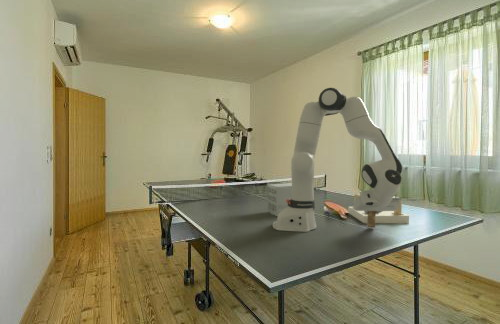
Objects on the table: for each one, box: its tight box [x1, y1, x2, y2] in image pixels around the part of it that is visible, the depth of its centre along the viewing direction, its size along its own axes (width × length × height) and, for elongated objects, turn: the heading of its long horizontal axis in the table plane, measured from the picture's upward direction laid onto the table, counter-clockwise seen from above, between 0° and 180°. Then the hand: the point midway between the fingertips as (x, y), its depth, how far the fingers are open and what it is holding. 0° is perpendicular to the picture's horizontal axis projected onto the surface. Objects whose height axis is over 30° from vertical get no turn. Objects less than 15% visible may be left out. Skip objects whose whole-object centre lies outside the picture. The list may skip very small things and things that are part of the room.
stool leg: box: [366, 211, 376, 229], centre depth 138 cm, size 4×4×11 cm
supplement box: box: [267, 182, 292, 217], centre depth 172 cm, size 17×13×18 cm
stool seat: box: [347, 193, 410, 224], centre depth 160 cm, size 24×24×12 cm
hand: (371, 213), depth 138 cm, fingers closed on stool leg, 4 cm apart
